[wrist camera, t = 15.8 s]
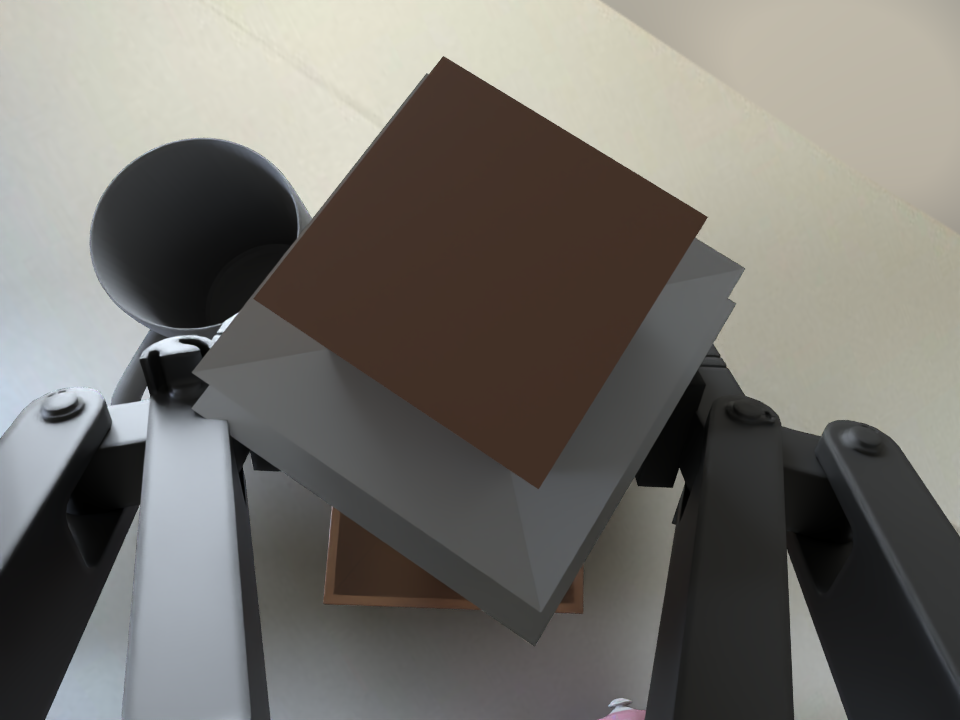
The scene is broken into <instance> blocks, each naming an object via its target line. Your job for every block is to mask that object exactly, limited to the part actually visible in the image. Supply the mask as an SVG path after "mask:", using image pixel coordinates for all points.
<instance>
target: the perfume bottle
mask: <svg viewBox="0 0 960 720" xmlns="http://www.w3.org/2000/svg"><path fill="white" fill-rule="evenodd" d="M707 218H708V217H707V216H705V215H704V214H702V213H700V212H699V211H697V210H695V209H694V208H692V207H690V206H689V205H687V204H685V203H684V202H682V201H681V200H679V199H677V198H676V197H674V196H672V195H671V194H669V193H667V192H666V191H664V190H662V189H661V188H659V187H658V186H656V185H654V184H653V183H651V182H649V181H648V180H646V179H644V178H643V177H641V176H639V175H638V174H636V173H635V172H633V171H631V170H630V169H628V168H626V167H625V166H623V165H621V164H620V163H618V162H616V161H615V160H613V159H612V158H610V157H608V156H607V155H605V154H603V153H602V152H600V151H598V150H597V149H595V148H593V147H592V146H590V145H589V144H587V143H585V142H584V141H582V140H580V139H579V138H577V137H575V136H574V135H572V134H570V133H569V132H567V131H566V130H564V129H562V128H561V127H559V126H557V125H556V124H554V123H552V122H551V121H549V120H547V119H546V118H544V117H543V116H541V115H539V114H538V113H536V112H534V111H533V110H531V109H529V108H528V107H526V106H524V105H523V104H521V103H520V102H518V101H516V100H515V99H513V98H511V97H510V96H508V95H506V94H505V93H503V92H501V91H500V90H498V89H496V88H495V87H493V86H492V85H490V84H488V83H487V82H485V81H483V80H482V79H480V78H478V77H477V76H475V75H473V74H472V73H470V72H469V71H467V70H465V69H464V68H462V67H460V66H459V65H457V64H455V63H454V62H452V61H450V60H449V59H447V58H446V57H444V56H443V57H442V58H441V60H440V61H439V62H438V64H437V65H436V66H435V67H434V69H433V70H432V71H431V72H430V74H426V75H425V76H424V77H423V79H422V80H421V81H420V82H419V84H418V85H417V86H416V88H415V89H414V90H413V91H412V93H411V94H410V95H409V96H408V98H407V99H406V100H405V102H404V103H403V104H402V105H401V107H400V108H399V109H398V110H397V112H396V113H395V114H394V116H393V117H392V118H391V119H390V121H389V122H388V123H387V124H386V126H385V127H384V128H383V130H382V131H381V132H380V133H379V135H378V136H377V137H376V138H375V140H374V141H373V142H372V144H371V145H370V146H369V147H368V149H367V150H366V151H365V152H364V154H363V155H362V156H361V158H360V159H359V160H358V161H357V163H356V164H355V165H354V166H353V168H352V169H351V170H350V172H349V173H348V174H347V175H346V177H345V178H344V179H343V180H342V182H341V183H340V184H339V186H338V187H337V188H336V189H335V191H334V192H333V193H332V194H331V196H330V197H329V198H328V200H327V201H326V202H325V203H324V205H323V206H322V207H321V208H320V210H319V211H318V212H317V214H316V215H315V216H314V217H313V219H312V220H311V221H310V222H309V224H308V225H307V226H306V228H305V229H304V230H303V231H302V233H301V234H300V235H299V236H298V238H297V239H296V240H295V242H294V243H293V244H292V245H291V247H290V248H289V249H288V251H287V252H286V253H285V254H284V256H283V257H282V258H281V259H280V261H279V262H278V263H277V265H276V266H275V267H274V268H273V270H272V271H271V272H270V273H269V275H268V276H267V277H266V279H265V280H264V281H263V282H262V284H261V285H260V286H259V287H258V289H257V290H256V291H255V293H254V294H253V295H252V296H251V298H250V299H249V300H248V301H247V303H246V304H245V305H244V307H243V308H242V309H241V310H240V312H239V313H238V314H237V315H236V317H235V318H234V319H233V321H232V322H231V323H230V324H229V326H228V327H227V328H226V329H225V331H224V332H223V333H222V335H221V336H220V337H219V338H218V340H217V341H216V342H215V343H214V345H213V346H212V347H211V349H210V350H209V351H208V352H207V354H206V355H205V356H204V357H203V359H202V360H201V361H200V363H199V364H198V365H197V366H196V368H195V369H194V370H193V371H192V373H193V374H194V375H196V376H197V377H199V378H200V379H202V380H203V381H205V382H206V383H208V384H209V386H208V388H207V389H206V390H205V392H204V393H203V394H202V395H201V397H200V398H199V399H198V401H197V402H196V403H195V404H194V406H193V407H192V408H191V409H193V410H194V411H196V412H197V413H198V414H200V415H201V416H203V417H204V418H206V419H219V420H228V425H229V432H230V436H232V437H233V438H234V439H236V440H237V441H239V442H240V443H242V444H243V445H245V446H246V447H247V448H249V449H250V450H252V451H253V452H255V453H256V454H258V455H259V456H260V457H262V458H263V459H265V460H266V461H268V462H269V463H271V464H272V465H273V466H275V467H276V468H278V469H279V470H281V471H282V472H284V473H285V474H286V475H288V476H289V477H291V478H292V479H294V480H295V481H297V482H298V483H299V484H301V485H302V486H304V487H305V488H307V489H308V490H310V491H311V492H312V493H314V494H315V495H317V496H318V497H320V498H321V499H323V500H324V501H325V502H327V503H328V504H330V505H331V506H333V507H334V508H336V509H337V510H338V511H340V512H341V513H343V514H344V515H346V516H347V517H349V518H350V519H351V520H353V521H354V522H356V523H357V524H359V525H360V526H361V527H363V528H364V529H366V530H367V531H369V532H370V533H372V534H373V535H374V536H376V537H377V538H379V539H380V540H382V541H383V542H385V543H386V544H387V545H389V546H390V547H392V548H393V549H395V550H396V551H398V552H399V553H400V554H402V555H403V556H405V557H406V558H408V559H409V560H411V561H412V562H413V563H415V564H416V565H418V566H419V567H421V568H422V569H424V570H425V571H426V572H428V573H429V574H431V575H432V576H434V577H435V578H437V579H438V580H439V581H441V582H442V583H444V584H445V585H447V586H448V587H450V588H451V589H452V590H454V591H455V592H457V593H458V594H460V595H461V596H463V597H464V598H465V599H467V600H468V601H470V602H471V603H473V604H474V605H476V606H477V607H478V608H480V609H481V610H483V611H484V612H486V613H487V614H488V615H490V616H491V617H493V618H494V619H496V620H497V621H499V622H500V623H501V624H503V625H504V626H506V627H507V628H509V629H510V630H512V631H513V632H514V633H516V634H517V635H519V636H520V637H522V638H523V639H525V640H526V641H527V642H529V643H530V644H532V645H533V646H535V645H536V643H537V642H538V640H539V638H540V637H541V635H542V633H543V631H544V630H545V628H546V626H547V625H548V623H549V621H550V620H551V618H552V616H553V614H554V613H555V611H556V609H557V608H558V606H559V604H560V603H561V601H562V599H563V597H564V596H565V594H566V592H567V591H568V589H569V587H570V586H571V584H572V582H573V580H574V579H575V577H576V575H577V574H578V572H579V570H580V569H581V567H582V565H583V563H584V562H585V560H586V558H587V557H588V555H589V553H590V552H591V550H592V548H593V546H594V545H595V543H596V541H597V540H598V538H599V536H600V535H601V533H602V531H603V529H604V528H605V526H606V524H607V523H608V521H609V519H610V518H611V516H612V514H613V512H614V511H615V509H616V507H617V506H618V504H619V502H620V501H621V499H622V497H623V495H624V494H625V492H626V490H627V489H628V487H629V485H630V484H631V482H632V480H633V478H634V477H635V475H636V473H637V472H638V470H639V468H640V467H641V465H642V463H643V461H644V460H645V458H646V456H647V455H648V453H649V451H650V450H651V448H652V446H653V444H654V443H655V441H656V439H657V438H658V436H659V434H660V433H661V431H662V429H663V427H664V426H665V424H666V422H667V421H668V419H669V417H670V416H671V414H672V412H673V410H674V409H675V407H676V405H677V404H678V402H679V400H680V399H681V397H682V395H683V393H684V392H685V390H686V388H687V387H688V385H689V383H690V382H691V380H692V378H693V376H694V375H695V373H696V371H697V370H698V368H699V366H700V365H701V363H702V361H703V359H704V358H705V356H706V354H707V353H708V351H709V349H710V348H711V346H712V344H713V342H714V341H715V339H716V337H717V336H718V334H719V332H720V331H721V329H722V327H723V325H724V324H725V322H726V320H727V319H728V317H729V315H730V314H731V312H732V310H733V308H734V307H735V305H736V303H735V302H733V301H731V300H730V299H728V297H729V295H730V294H731V292H732V290H733V288H734V287H735V285H736V283H737V282H738V280H739V278H740V277H741V275H742V273H743V272H744V270H745V268H744V267H742V266H740V265H739V264H737V263H735V262H734V261H732V260H731V259H729V258H727V257H726V256H724V255H722V254H721V253H719V252H717V251H716V250H714V249H713V248H711V247H709V246H708V245H706V244H704V243H703V242H701V241H700V240H698V239H696V238H695V237H696V235H697V234H698V232H699V230H700V229H701V227H702V226H703V224H704V222H705V221H706V219H707Z"/></svg>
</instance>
